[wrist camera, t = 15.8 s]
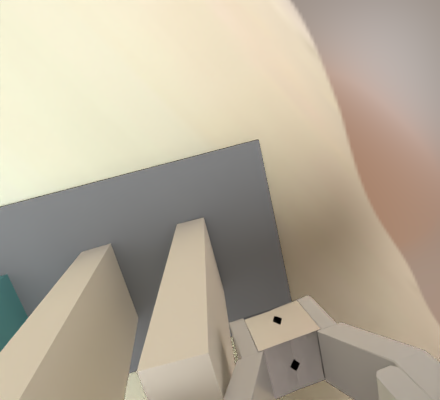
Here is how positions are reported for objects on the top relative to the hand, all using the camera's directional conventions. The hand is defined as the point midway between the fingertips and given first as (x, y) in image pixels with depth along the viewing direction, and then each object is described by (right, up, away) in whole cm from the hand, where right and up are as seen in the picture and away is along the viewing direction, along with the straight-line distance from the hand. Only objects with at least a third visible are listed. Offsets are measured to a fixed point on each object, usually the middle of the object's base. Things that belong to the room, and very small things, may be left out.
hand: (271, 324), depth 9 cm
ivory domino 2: (-3, +1, +7) cm, 7 cm away
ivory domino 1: (-8, -1, +6) cm, 10 cm away
